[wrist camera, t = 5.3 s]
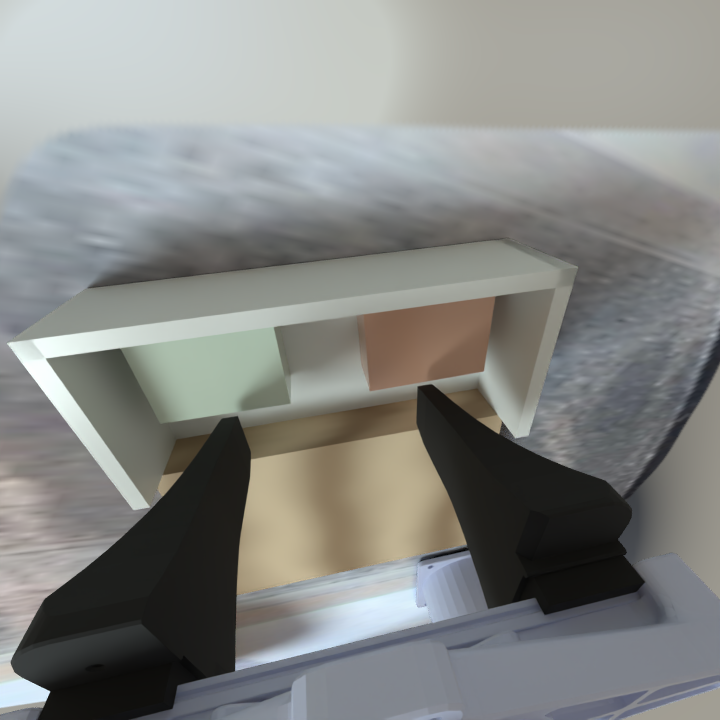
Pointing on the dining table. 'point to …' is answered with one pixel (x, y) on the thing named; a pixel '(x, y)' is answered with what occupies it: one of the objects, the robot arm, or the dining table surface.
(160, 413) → the tile
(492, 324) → the tray
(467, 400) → the board
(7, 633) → the dining table surface
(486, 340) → the tile
